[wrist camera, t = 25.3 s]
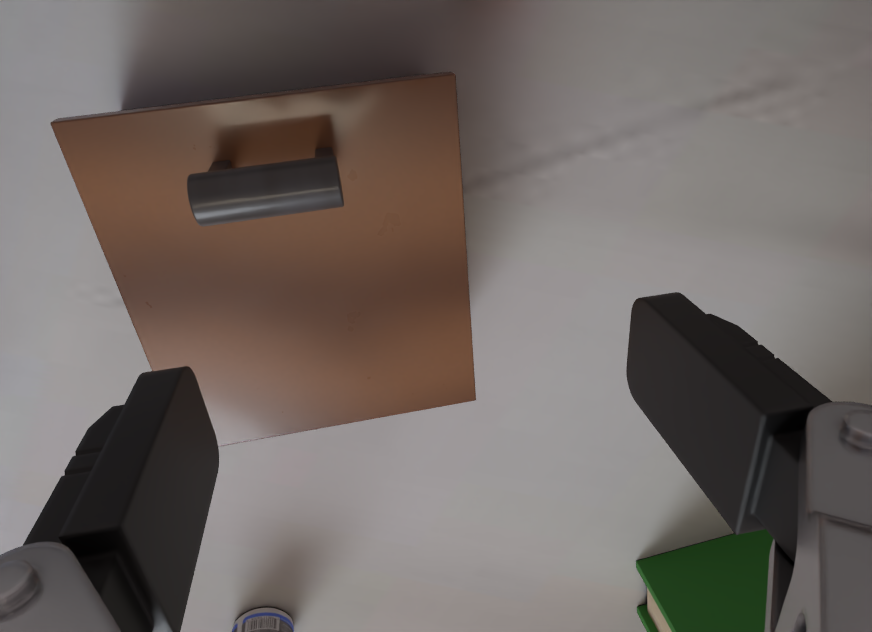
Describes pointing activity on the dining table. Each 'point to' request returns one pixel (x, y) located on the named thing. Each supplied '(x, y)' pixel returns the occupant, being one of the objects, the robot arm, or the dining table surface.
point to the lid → (290, 248)
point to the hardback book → (708, 586)
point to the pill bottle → (264, 621)
